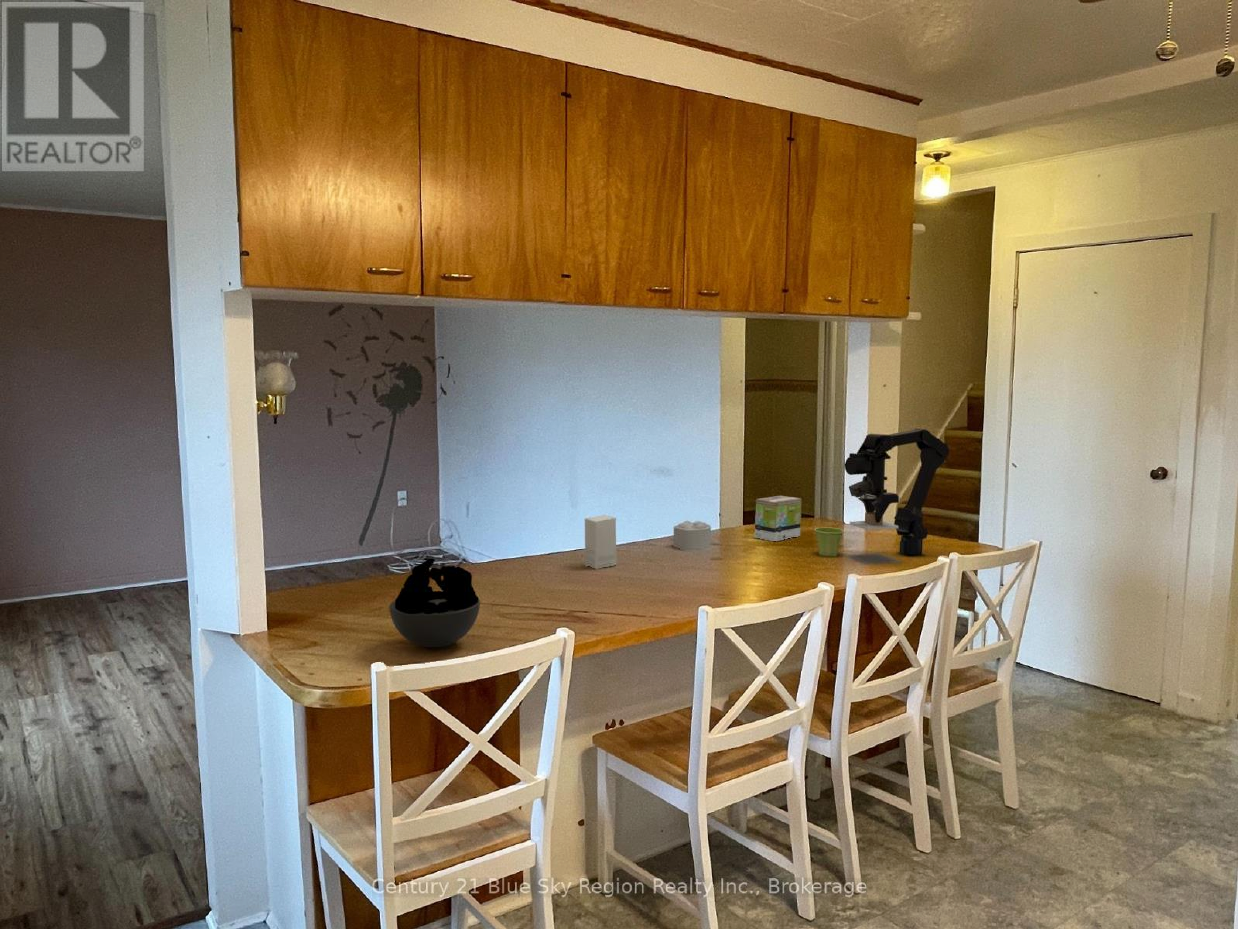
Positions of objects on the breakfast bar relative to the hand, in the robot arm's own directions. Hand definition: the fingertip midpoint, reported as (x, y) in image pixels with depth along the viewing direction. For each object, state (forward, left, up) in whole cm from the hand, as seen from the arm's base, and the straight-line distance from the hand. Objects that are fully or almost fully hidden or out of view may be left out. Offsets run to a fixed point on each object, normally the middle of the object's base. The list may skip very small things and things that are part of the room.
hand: (873, 521), depth 284 cm
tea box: (+13, -43, -13) cm, 46 cm away
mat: (0, 0, -13) cm, 13 cm away
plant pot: (+10, -10, -13) cm, 19 cm away
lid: (0, 0, -2) cm, 2 cm away
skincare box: (+87, -17, -13) cm, 89 cm away
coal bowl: (+143, +49, -13) cm, 152 cm away
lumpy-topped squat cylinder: (+48, -37, -13) cm, 62 cm away
